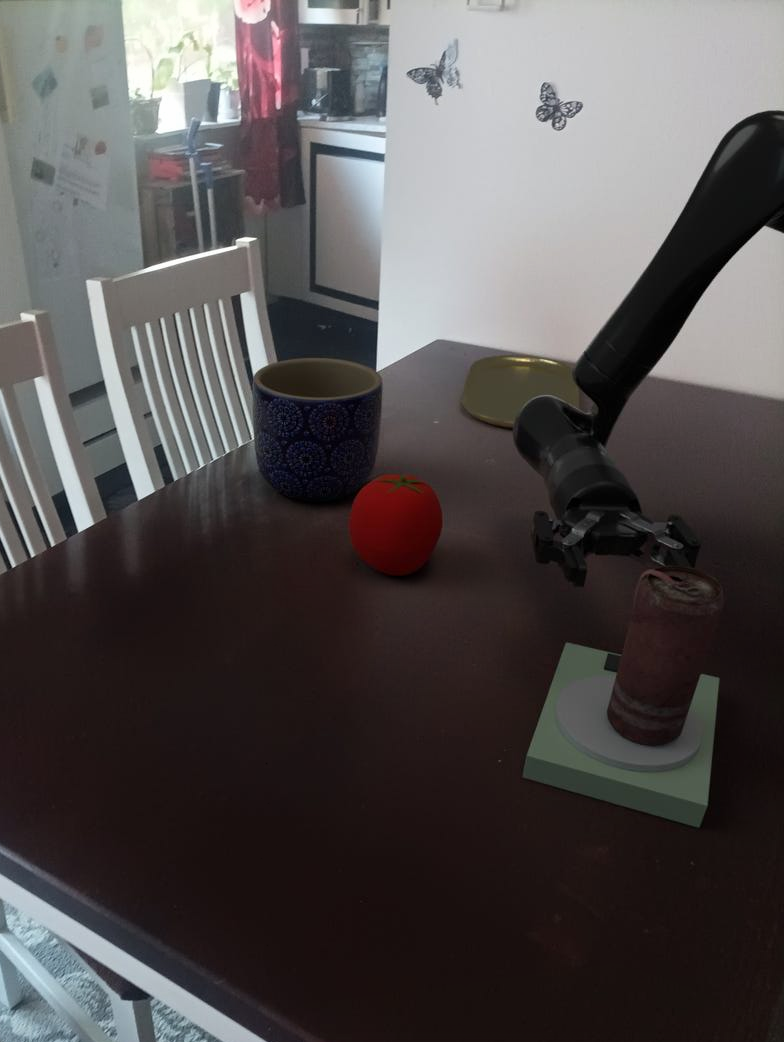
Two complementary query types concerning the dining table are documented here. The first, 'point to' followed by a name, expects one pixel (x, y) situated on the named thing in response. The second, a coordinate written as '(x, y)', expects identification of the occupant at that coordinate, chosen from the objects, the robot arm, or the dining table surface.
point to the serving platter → (514, 386)
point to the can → (664, 653)
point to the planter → (316, 426)
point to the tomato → (395, 523)
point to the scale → (620, 744)
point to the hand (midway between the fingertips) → (632, 580)
